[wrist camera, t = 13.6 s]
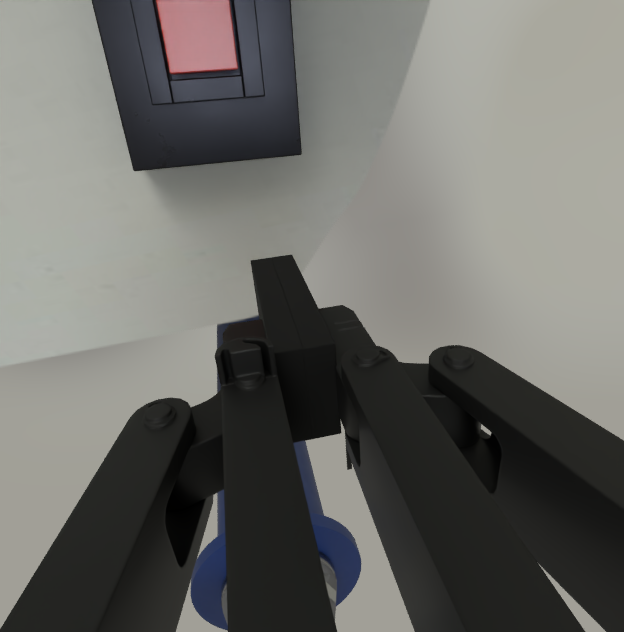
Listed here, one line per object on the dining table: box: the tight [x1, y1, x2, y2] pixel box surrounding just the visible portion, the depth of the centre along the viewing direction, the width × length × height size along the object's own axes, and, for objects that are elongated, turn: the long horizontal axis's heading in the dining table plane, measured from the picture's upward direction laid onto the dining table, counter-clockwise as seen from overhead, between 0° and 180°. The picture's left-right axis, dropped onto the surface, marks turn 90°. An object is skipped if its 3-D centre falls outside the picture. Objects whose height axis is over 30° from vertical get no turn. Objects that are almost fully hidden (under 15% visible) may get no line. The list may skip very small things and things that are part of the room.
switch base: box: [92, 0, 302, 171], centre depth 26 cm, size 14×11×5 cm
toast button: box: [156, 0, 238, 75], centre depth 24 cm, size 4×4×2 cm
